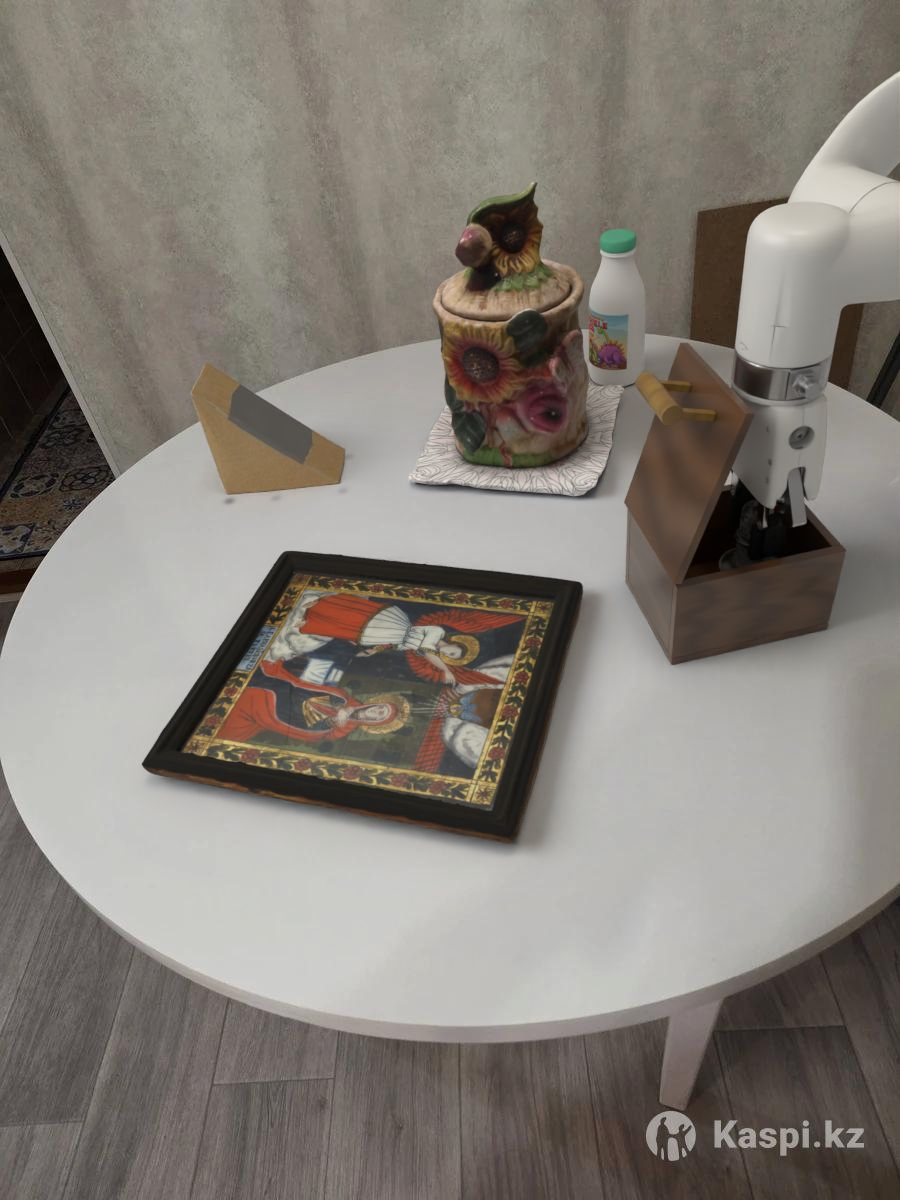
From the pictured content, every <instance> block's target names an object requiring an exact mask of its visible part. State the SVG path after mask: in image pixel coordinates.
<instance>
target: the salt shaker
mask: <svg viewBox="0 0 900 1200" xmlns="http://www.w3.org/2000/svg"><path fill="white" fill-rule="evenodd" d="M757 508H758V500H757V499H756V500H751V501H749V502H747V503H746V504H745V505H744V506H743V508H742V511H741V519H740V526H739V527H738V528H737V529H736V530H735V533H734V536H735V538H736V540H737V543H736V548H733V549H731V550H729V551H727V552H725V553H724V554H723V555H722V556H721V558H720V560H719V569H720V571H725V570H729V569H734V568H738V567H743V566H747V565H752V564H756V563H761V562H765V561H770V560H774V559H778V558H777V557H776V556H771V557H766V558H762V559H757V560H750V559H749V557H748V548H749V541H750V534H751V527H752V524H754V523H757ZM772 513H774V510H773V509H770V508H769V514H772Z"/></svg>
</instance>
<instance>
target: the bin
mask: <svg viewBox="0 0 900 1200" xmlns="http://www.w3.org/2000/svg"><path fill="white" fill-rule="evenodd" d="M733 497H735V496H732V494H731V492H730V483H729V484H725V485H724V487H723V490H722V492H721V494H720V496H719V499H718V501H717V503H716V506H715V508H714V510H713V513H712V515H711V517H710V520H709V522H708V524H707V526H706V529H705V531H704V533H703V536H702V538H701V540H700V543H699V545H698V547H697V550H696V552H695V554H694V556H693V559H692V561H691V563H690V566H689V568H688V570H687V573H686V575H685V577H684V579H683V582H682V584H674V583H673V582H672V580H671V579H670V577H669V575H668V574H667V572H666V570H665V569H664V567H663V565H662V564H661V562H660V561H659V559H658V557H657V556H656V554H655V552H654V551H653V549H652V547H651V546H650V544H649V543H648V541H647V539H646V538H645V536H644V534H643V533H642V531H641V530H640V528H639V526H638V525H637V523H636V521H635V520H634V518H633V516H632V515H631V513H630V512H629V510H628V508H627V507H626V509H627V510H626V543H625V544H626V545H625V546H626V547H625V548H626V549H625V576H624V577H625V583H626V585H627V587H628V589H629V590H630V592H631V594H632V596H633V598H634V600H635V601H636V603H637V605H638V607H639V610H640V611H641V612H642V614H643V616H644V618H645V620H646V621H647V623H648V625H649V627H650V629H651V631H652V632H653V635H654V636H655V638H656V640H657V642H658V643H659V645H660V647H661V650H662V651H663V652H664V654H665V657H666V658H667V659H668V662H669V664H670V665H671V666H673V665H677V664H682V663H685V662H690V661H695V660H699V659H705V658H707V657H712V656H717V655H721V654H725V653H730V652H735V651H739V650H742V649H747V648H751V647H756V646H760V645H764V644H765V645H766V644H769V643H773V642H777V641H782V640H786V639H790V638H795V637H799V636H804V635H808V634H812V633H816V632H817V633H818V632H821V631H825V630H828V628H829V624H830V619H831V614H832V612H833V611H832V610H833V608H834V602H835V600H836V595H837V591H838V586H839V583H840V578H841V575H842V571H843V566H844V564H845V563H844V562H845V558H846V554H847V549H846V548H845V546H843V544H842V543H841V542H839V540H838V539H837V538H836V537H835V535H834V534H833V533H832V532H831V531H830V530H829V529H828V528H827V527H826V526H825V525H824V523H823V522H822V521H821V520H820V519H819V518H818V517H817V515H816V514H815V513H814V511H812V510H811V509H810V507H808V505H807V504H806V503H805V511H806V519H807V522H806V524H805V525H801V526H796V527H792V528H790V527H786V533H785V538H784V544H783V549H782V552H781V553H780V554H779V555H775V556H776V557H777V558H778V559H774V560H770V561H765V562H761V563H756V564H752V565H747V566H743V567H738V568H734V569H729V570H725V571H720V569H719V560H720V558H721V556H722V555H723V554H724V553H725V552H727V551H729V550H731V549H733V548H736V543H737V540H736V538H735V536H734V533H730V532H729V530H728V528H727V527H728V519H729V511H730V503H731V498H733ZM780 506H781V504H777V505H776V506H775V507H774V508H773V510H774V513H775V512H780Z"/></svg>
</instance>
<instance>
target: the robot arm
mask: <svg viewBox="0 0 900 1200" xmlns="http://www.w3.org/2000/svg"><path fill="white" fill-rule="evenodd" d="M899 164H900V70H898V71H897V72H896V73H894V74H893V75H891V76H890V77H889V78H887V79H886V80H884V81H883V82H881V84H879V85H878V86H876V87H875V88H874V89H873V90H871V91H870V92H869V93H868V94H867V95H865V96H864V97H863V98H862V99H861V100H860V101H858V103H857V104H856V105H855V106H854V107H853V108H852V109H850V110H849V112H847V114H846V115H845V116H844V118H843V119H842V120H841V121H840V122H839V123H838V125H837V126H836V127H835V129H834V130H833V131H832V133H831V134H830V135H829V137H828V138H827V139H826V140H825V142H824V143H823V145H822V146H821V147H820V149H819V150H818V151H817V152H816V154H815V156H814V157H813V158H812V159H811V160H810V162H809V164H808V165H807V167H806V168H805V170H804V171H803V173H802V174H801V176H800V178H799V179H798V181H797V182H796V184H795V185H794V188H793V189H792V192H791V193H790V196H789V198H788V200H787V203H781V204H777V205H774V206H771V207H769V208H767V209H765V210H763V211H762V212H760V213H759V214H758V215H757V216H756V217H755V218H754V220H753V221H752V222H751V224H750V226H749V229H748V231H747V238H746V243H745V253H744V260H743V269H742V277H741V278H742V279H741V286H740V296H739V306H738V316H737V324H736V335H735V344H734V350H733V359H732V360H733V361H732V366H731V367H732V368H731V376H730V377H731V378H730V388H731V389H732V390H733V391H734V392H735V393H736V394H737V395H738V396H739V398H740V399H741V400H742V401H743V402H744V403H745V404H746V405H747V406H748V407H749V408H750V409H751V410H752V411H753V412H754V414H755V416H754V418H753V420H752V423H751V425H750V427H749V430H748V432H747V434H746V437H745V439H744V441H743V443H742V446H741V448H740V450H739V453H738V455H737V457H736V460H735V462H734V464H733V467H732V469H731V471H730V474H731V478H730V483H729V484H730V492H731V494H732V496H735V497H733V498H731V503H730V511H729V519H728V527H727V528H728V530H729V532H730V533H735V530H736V529H737V528H738V527H739V526H740V519H741V511H742V508H743V506H744V505H745V504H746V503H747V502H749V501H751V500H756V499H757V500H758V508H757V523H754V524H752V527H751V534H750V541H749V548H748V557H749V559H750V560H757V559H762V558H766V557H771V556H775V555H779V554H780V553H781V552H782V549H783V544H784V538H785V533H786V527H790V528H792V527H796V526H801V525H805V524H806V522H807V519H806V511H805V504H806V503H805V500H806V501H807V502H810V501H814V500H816V499H817V497H818V495H819V492H820V487H821V483H822V475H823V470H824V463H825V454H826V446H827V438H828V437H827V436H828V399H827V397H826V395H825V394H824V393H825V392H826V390H827V386H828V382H829V375H830V371H831V365H832V361H833V355H834V348H835V343H836V338H837V332H838V328H839V323H840V317H841V313H842V310H843V309H844V308H845V307H846V306H848V305H856V304H865V303H867V304H868V303H878V302H879V303H880V302H890V301H892V302H893V301H898V300H900V181H899V180H896V179H894V178H890V177H888V176H889V175H890V174H891V172H892V171H893V170H894V169H895V168H896V167H897V166H898V165H899ZM777 504H781V506H780V512H775V513H772V514H769V508H770V509H773V508H774V507H775V506H776V505H777Z"/></svg>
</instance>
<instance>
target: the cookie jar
mask: <svg viewBox="0 0 900 1200" xmlns="http://www.w3.org/2000/svg"><path fill="white" fill-rule="evenodd" d="M537 186H538V182H537V181H532V182H530V183H529V186H528V187H527V188H526V189H525V190H524V191H522V192H519V193H512V194H501V195H496V196H491V197H488V198H486V199H484V200H482V201H481V202H479V203H478V204H477V205H476V206H475V207H473V209H472V210H471V211H470V213H469V214H468V217H467V219H466V226H465V228H464V230H463V232H462V234H461V237H460V238H459V240H458V243H457V245H456V247H455V249H454V255H455V257H456V259H458V261H459V262H460V264H461V265H462V266H463V267H464V269H461V270H460V271H457V272H456V273H455V274H453V275H451V276H450V277H448V278H447V279H446V280H444V281H442V282H441V284H440V285H439V286H438V287H437V290H436V293H435V296H434V298H433V300H432V302H431V303H432V304H431V305H432V306H431V307H432V311H433V314H434V315H435V316H436V319H437V323H438V330H439V335H440V345H441V346H440V352H441V359H442V362H443V369H444V383H443V394H444V395H443V396H444V399H445V403H446V404H445V407H444V408H443V410H442V411H441V413H440V415H439V418H438V419H437V420H436V422H435V423H434V426H433V427H432V428H431V431H430V433H429V436H428V439H427V442H426V443H425V445H424V447H423V452H422V454H421V455H419V456H418V459H417V461H416V464H415V465H414V470H412V471H411V472H410V473H409V474H408V480H409V482H410V483H412V484H413V483H417V484H424V485H439V486H440V485H452V484H453V485H461V486H464V487H471V488H475V489H476V488H477V489H485V490H496V491H497V490H498V491H507V492H525V493H538V494H539V493H540V494H555V495H565V496H570V497H578V496H584V495H585V494H586V493H588V491H590V490H592V489H593V488H595V487H596V486H597V483H598V481H599V478H600V477H601V476H602V474H603V472H604V470H605V468H606V466H607V462H608V459H609V454H610V452H611V449H612V447H613V436H612V435H613V433H614V428H615V425H616V424H615V423H616V418H617V412H618V411H617V410H618V408H619V404H620V401H621V398H622V396H623V395H622V394H623V393H624V386H622V385H606V386H602V385H590V375H589V367H588V365H587V362H586V360H585V351H584V335H583V330H582V328H581V326H580V318H579V306H580V305H581V304H582V301H583V299H584V294H585V284H584V282H583V281H584V280H583V278H582V276H581V275H579V273H578V271H577V270H576V269H575V268H573V267H572V266H570V265H568V264H563V263H560V262H556V261H554V260H551V259H547V258H541V256H540V250H541V249H540V248H541V243H542V239H543V230H544V227H545V226H544V223H542V221H540V219H539V217H538V213H539V206H538V205H537V204H536V203H535V194H536V191H537Z"/></svg>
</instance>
